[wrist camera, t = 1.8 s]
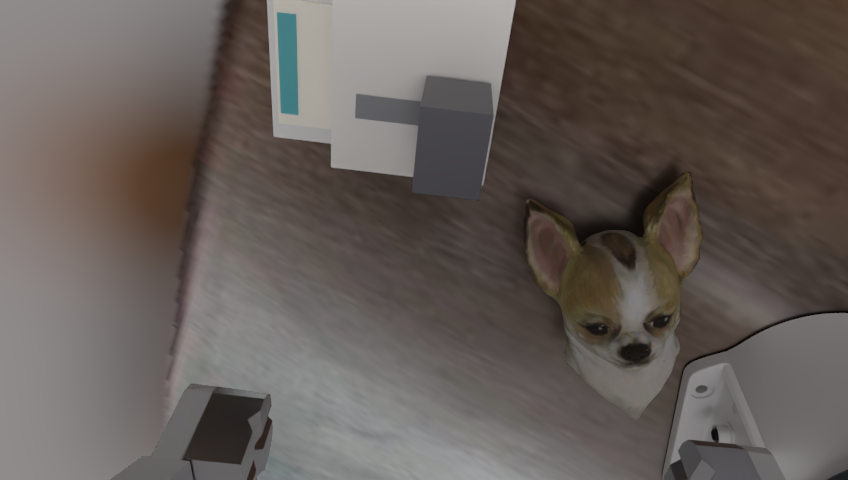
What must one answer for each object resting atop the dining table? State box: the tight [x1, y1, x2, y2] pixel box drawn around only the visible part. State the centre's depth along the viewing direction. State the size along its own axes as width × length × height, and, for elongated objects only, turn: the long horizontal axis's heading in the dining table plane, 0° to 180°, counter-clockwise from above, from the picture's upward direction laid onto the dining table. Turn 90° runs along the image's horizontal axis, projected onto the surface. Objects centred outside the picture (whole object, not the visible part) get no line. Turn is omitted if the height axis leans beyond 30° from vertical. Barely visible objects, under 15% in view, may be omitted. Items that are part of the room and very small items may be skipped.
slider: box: [412, 76, 494, 201], centre depth 26 cm, size 4×3×4 cm
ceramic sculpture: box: [524, 172, 703, 420], centre depth 36 cm, size 11×9×15 cm
